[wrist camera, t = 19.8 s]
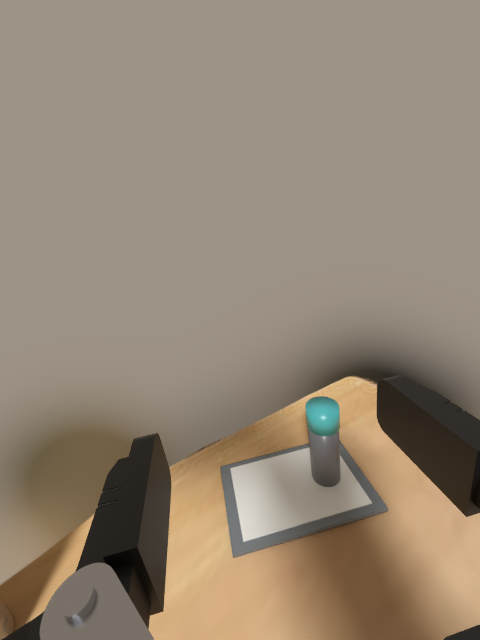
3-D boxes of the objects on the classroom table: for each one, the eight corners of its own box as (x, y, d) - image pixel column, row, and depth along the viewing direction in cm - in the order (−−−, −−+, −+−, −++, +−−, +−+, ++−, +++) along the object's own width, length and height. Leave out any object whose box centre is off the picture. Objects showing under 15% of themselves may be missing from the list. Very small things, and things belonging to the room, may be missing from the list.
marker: (319, 491, 38) (314, 420, 34) (306, 466, 42) (300, 400, 38) (347, 482, 39) (345, 412, 35) (332, 459, 43) (329, 393, 39)
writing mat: (233, 557, 33) (232, 553, 33) (221, 469, 45) (220, 465, 45) (387, 511, 35) (387, 506, 35) (336, 438, 48) (336, 435, 47)
